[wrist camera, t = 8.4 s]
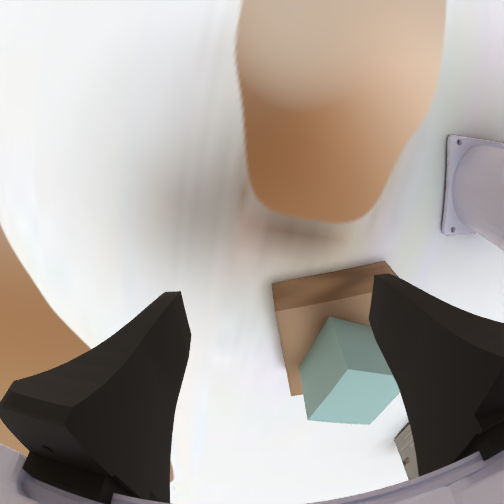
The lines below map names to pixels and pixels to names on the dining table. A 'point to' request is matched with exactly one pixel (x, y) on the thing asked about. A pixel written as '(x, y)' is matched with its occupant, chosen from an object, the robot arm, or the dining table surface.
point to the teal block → (346, 375)
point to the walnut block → (320, 309)
